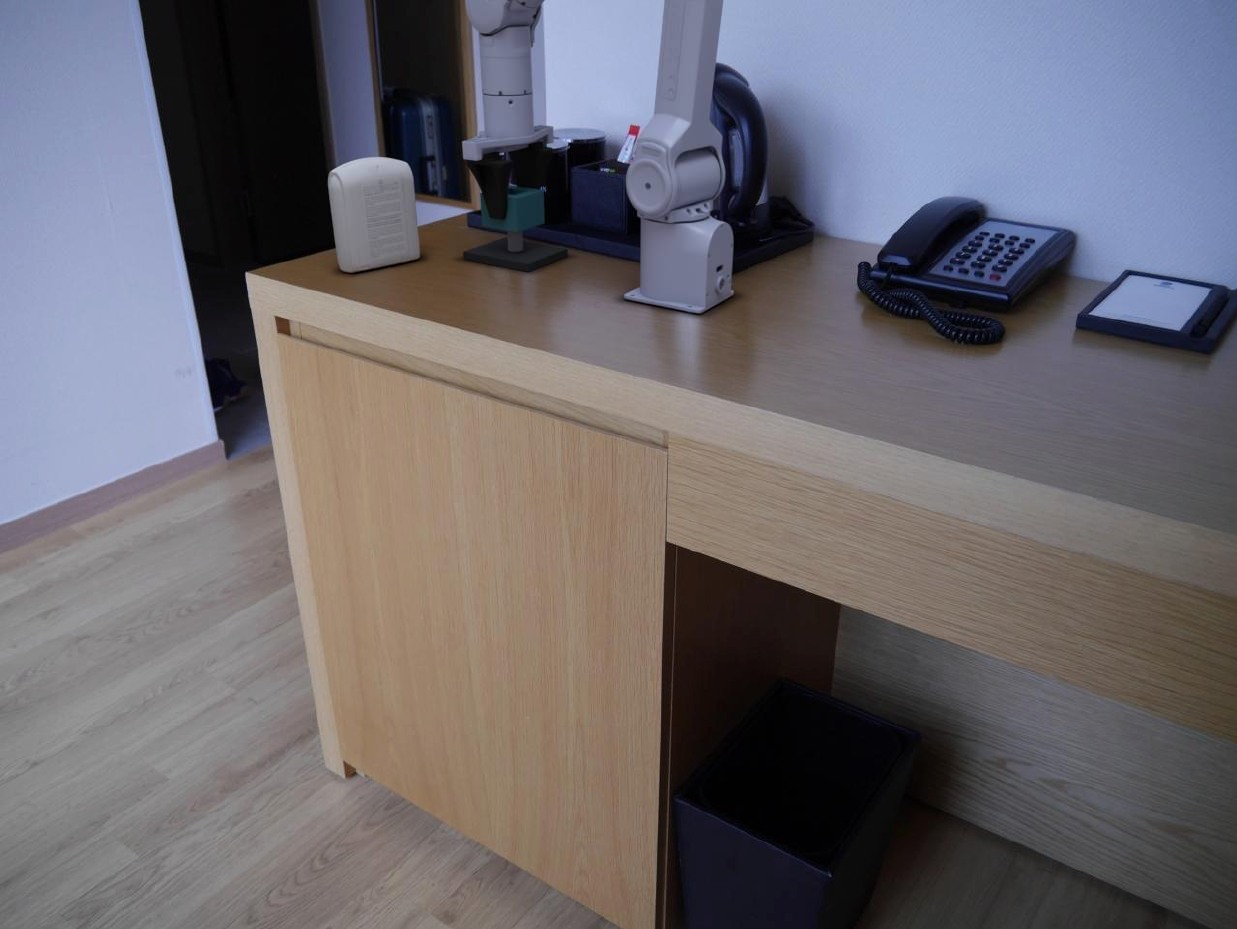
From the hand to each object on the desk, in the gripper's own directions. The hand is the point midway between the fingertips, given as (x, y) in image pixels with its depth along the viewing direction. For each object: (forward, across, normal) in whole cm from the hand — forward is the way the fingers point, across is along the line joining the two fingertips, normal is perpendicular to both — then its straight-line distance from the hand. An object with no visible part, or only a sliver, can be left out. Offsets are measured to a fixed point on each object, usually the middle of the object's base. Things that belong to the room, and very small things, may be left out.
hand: (513, 213), depth 116 cm
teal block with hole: (+1, 0, 0) cm, 1 cm away
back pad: (+6, 0, 0) cm, 6 cm away
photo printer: (+6, +11, -12) cm, 17 cm away
